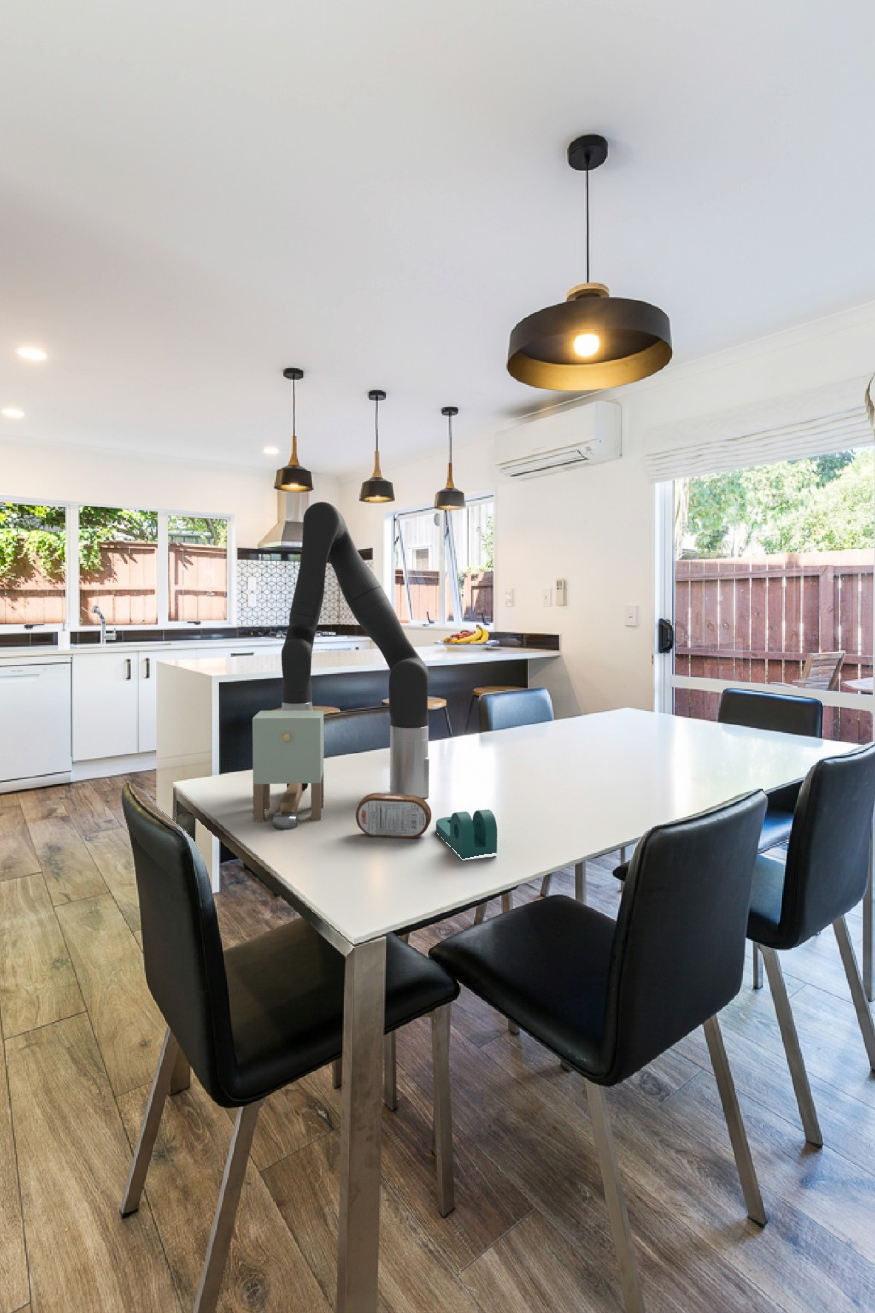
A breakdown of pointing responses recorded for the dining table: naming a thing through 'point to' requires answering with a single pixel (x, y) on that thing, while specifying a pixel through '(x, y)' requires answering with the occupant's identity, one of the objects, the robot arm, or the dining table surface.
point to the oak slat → (291, 798)
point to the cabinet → (288, 756)
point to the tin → (393, 815)
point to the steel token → (285, 820)
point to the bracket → (469, 833)
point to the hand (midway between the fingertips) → (297, 790)
